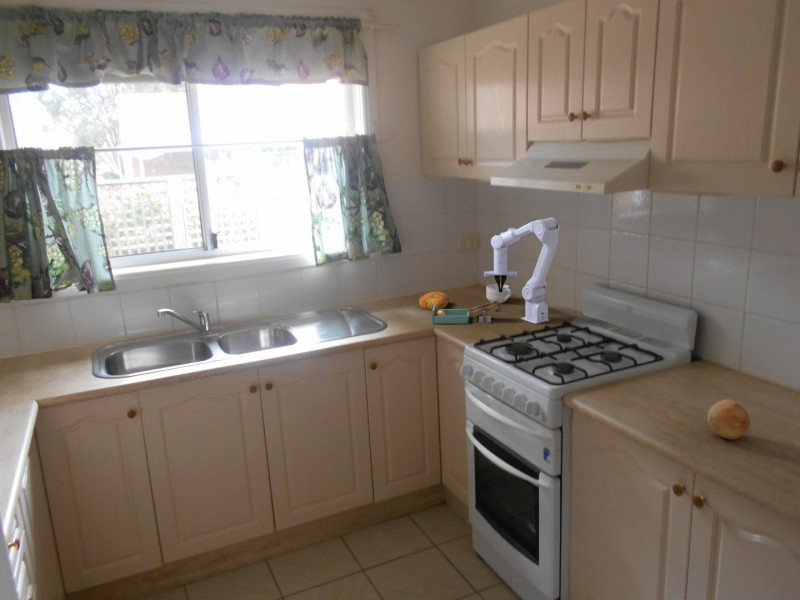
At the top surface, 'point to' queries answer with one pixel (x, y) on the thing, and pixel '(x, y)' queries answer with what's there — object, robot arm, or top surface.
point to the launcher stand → (484, 318)
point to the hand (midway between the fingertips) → (500, 291)
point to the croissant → (434, 300)
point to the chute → (486, 308)
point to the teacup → (497, 293)
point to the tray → (451, 316)
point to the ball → (440, 313)
